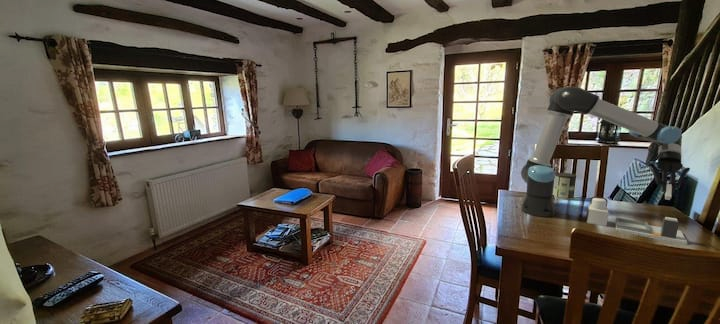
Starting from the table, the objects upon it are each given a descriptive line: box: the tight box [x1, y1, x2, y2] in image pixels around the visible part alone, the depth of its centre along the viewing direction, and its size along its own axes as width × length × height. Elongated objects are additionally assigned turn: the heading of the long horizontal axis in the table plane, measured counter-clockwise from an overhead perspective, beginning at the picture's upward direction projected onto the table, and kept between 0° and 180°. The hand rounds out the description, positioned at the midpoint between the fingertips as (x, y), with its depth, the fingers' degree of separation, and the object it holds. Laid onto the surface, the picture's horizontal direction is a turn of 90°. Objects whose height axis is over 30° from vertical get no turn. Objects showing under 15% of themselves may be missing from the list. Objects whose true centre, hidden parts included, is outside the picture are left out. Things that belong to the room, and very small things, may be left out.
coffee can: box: [553, 172, 577, 201], centre depth 175 cm, size 10×10×14 cm
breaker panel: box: [614, 216, 688, 245], centre depth 127 cm, size 21×13×3 cm, turn 51°
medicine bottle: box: [586, 196, 609, 227], centre depth 138 cm, size 7×7×12 cm
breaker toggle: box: [661, 216, 680, 239], centre depth 120 cm, size 4×3×8 cm
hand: (668, 198), depth 128 cm, fingers closed
